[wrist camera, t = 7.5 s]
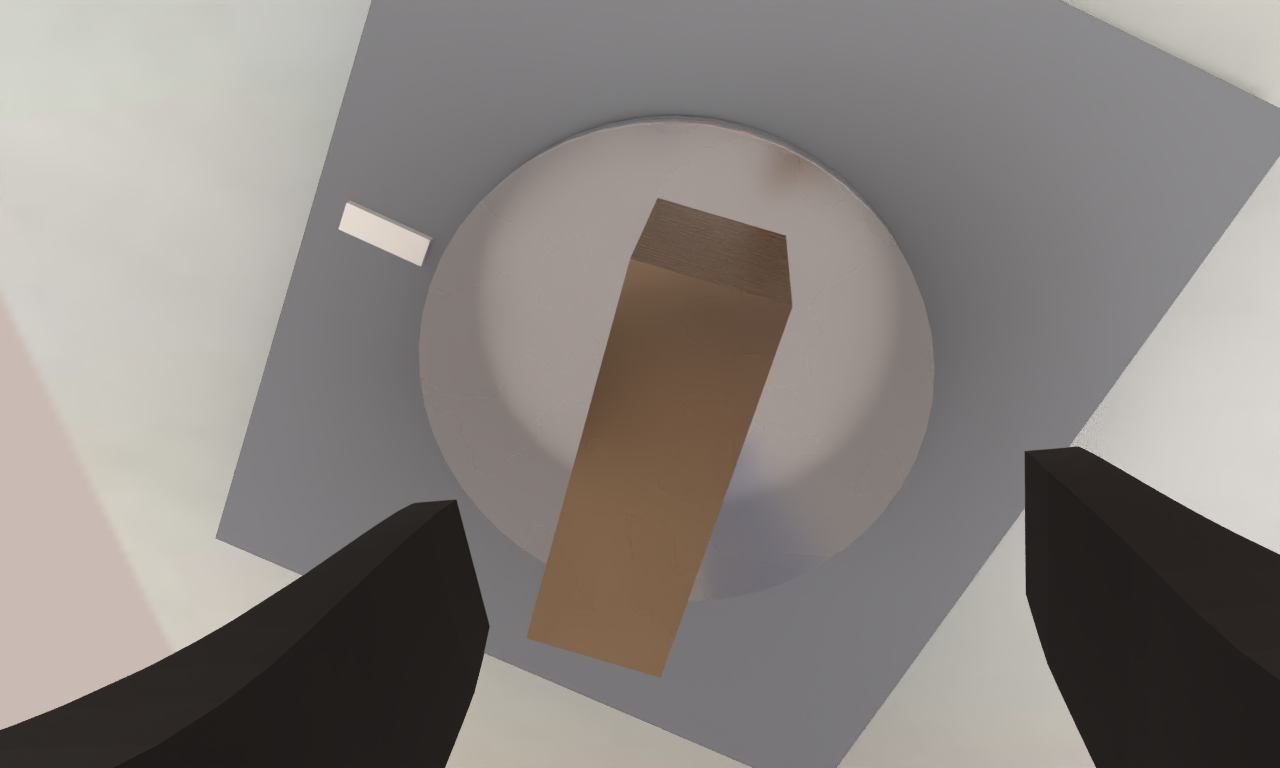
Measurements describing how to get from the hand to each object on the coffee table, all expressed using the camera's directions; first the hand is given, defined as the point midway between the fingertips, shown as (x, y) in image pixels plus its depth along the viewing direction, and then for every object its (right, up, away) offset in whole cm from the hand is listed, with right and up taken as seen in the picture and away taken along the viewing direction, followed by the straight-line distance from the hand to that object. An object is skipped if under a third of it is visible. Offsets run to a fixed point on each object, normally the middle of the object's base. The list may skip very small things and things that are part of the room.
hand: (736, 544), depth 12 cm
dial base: (0, +3, +9) cm, 10 cm away
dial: (-1, +2, +7) cm, 8 cm away
